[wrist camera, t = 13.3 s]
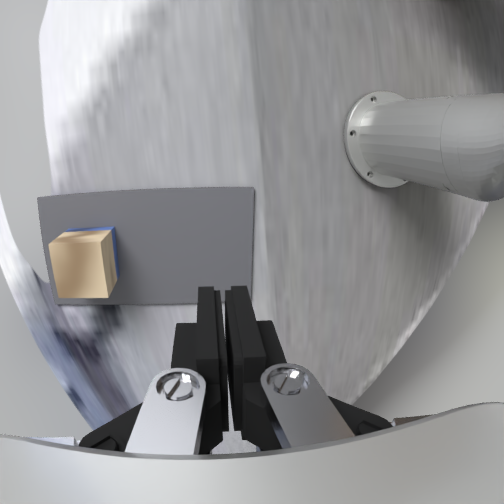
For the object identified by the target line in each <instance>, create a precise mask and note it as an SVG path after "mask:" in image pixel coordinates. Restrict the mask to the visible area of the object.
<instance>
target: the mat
mask: <svg viewBox="0 0 504 504" xmlns="http://www.w3.org/2000/svg"><path fill="white" fill-rule="evenodd" d="M37 200H38V210H39V219H40V227H41V234H42V241H43V247H44V253H45V259H46V264H47V270H48V275H49V279H50V285H51V289H52V294H53V298H54V302H55V304H69V305H134V304H180V303H198V287H203V286H214V290H220V294H221V302H225V290H231V286H246V285H247V288H248V292H249V295H250V299H251V276H252V243H253V209H254V187H200V188H164V189H140V190H122V191H105V192H91V193H78V194H66V195H56V196H46V197H38V198H37ZM113 226H115V237H116V247H117V256H118V265H119V273H120V276H119V278H118V280H117V282H116V284H115V286H114V288H113V290H112V292H111V294H110V296H109V298H59V297H58V293H57V288H56V283H55V279H54V274H53V268H52V263H51V257H50V251H49V245H48V244H50V243H51V242H52V241H53V240H55V239H56V238H57V237H58V236H60V235H61V234H62V233H64V232H65V231H66V230H68V229H74V228H93V227H113Z"/></svg>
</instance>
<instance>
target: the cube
mask: <svg viewBox="0 0 504 504" xmlns="http://www.w3.org/2000/svg"><path fill="white" fill-rule="evenodd" d="M48 245H49V251H50V257H51V263H52V268H53V274H54V279H55V283H56V288H57V293H58V297H59V298H109V296H110V294H111V292H112V290H113V288H114V286H115V284H116V282H117V280H118V278H119V276H120V273H119V265H118V256H117V247H116V237H115V226H113V227H93V228H74V229H68V230H66V231H65V232H64V233H62V234H61V235H60V236H58V237H57V238H56V239H55V240H53V241H52V242H51V243H50V244H48Z"/></svg>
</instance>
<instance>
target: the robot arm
mask: <svg viewBox="0 0 504 504" xmlns="http://www.w3.org/2000/svg"><path fill="white" fill-rule="evenodd" d="M350 132H351V136H350ZM344 143H345V148H346V152H347V156H348V158H349V160H350V163H351V164H352V166H353V167H354V169H355V170H356V172H357V173H358V174H359V175H360V176H361V177H362V178H363V179H365V180H366V181H368V182H369V183H371V184H374V185H376V186H380V187H384V188H394V187H399V186H401V185H404V184H405V183H407V182H408V181H411V182H415V183H418V184H422V185H426V186H430V187H433V188H437V189H441V190H444V191H448V192H451V193H455V194H458V195H461V196H465V197H468V198H471V199H474V200H478V201H484V202H490V201H496V200H499V199H502V198H503V197H504V93H493V94H475V95H458V96H443V97H430V98H420V99H410V100H407V99H405V98H404V97H402V96H400V95H399V94H396V93H393V92H389V91H378V92H373V93H369V94H367V95H365V96H363V97H362V98H360V99H359V100H358V101H357V102H356V103H355V104H354V105H353V107H352V108H351V110H350V112H349V114H348V116H347V119H346V123H345V128H344ZM367 173H368V175H367ZM225 343H226V344H225ZM227 373H228V377H227ZM228 382H229V391H230V400H231V408H232V416H233V425H234V431H241V435H242V440H247V441H249V442H251V443H252V444H254V445H256V452H249V453H235V454H213V455H212V449H213V448H214V447H216V446H217V445H218V444H219V443H220V442H222V441H223V433H222V432H225V431H229V417H228ZM0 504H504V403H500V402H490V403H479V404H472V405H467V406H463V407H459V408H455V409H451V410H448V411H445V412H442V413H438V414H434V415H425V416H416V417H406V418H394V419H393V421H392V422H388V421H387V420H386V419H384V418H382V417H380V416H378V415H375V414H372V413H370V412H367V411H364V410H362V409H359V408H357V407H354V406H352V405H349V404H347V403H344V402H342V401H339V400H337V399H335V398H332V397H330V396H327V394H326V393H325V391H324V390H323V389H322V387H321V386H320V384H319V383H318V381H317V380H316V378H315V377H314V375H313V374H312V373H311V372H310V371H309V370H308V369H306V368H304V367H302V366H299V365H296V364H290V363H287V362H286V359H285V356H284V353H283V350H282V347H281V345H280V342H279V339H278V336H277V333H276V330H275V328H274V325H273V322H272V321H271V320H268V321H256V318H255V314H254V310H253V307H252V303H251V299H250V295H249V292H248V288H247V285H246V286H231V290H225V334H224V325H223V314H222V304H221V294H220V290H214V286H203V287H198V305H197V323H177V324H176V330H175V338H174V345H173V354H172V362H171V369H167V370H165V371H163V372H160V373H159V374H158V375H156V376H155V377H154V378H153V380H152V381H151V383H150V386H149V388H148V391H147V394H146V396H145V399H144V401H143V402H142V403H141V404H139V405H137V406H136V407H134V408H132V409H130V410H129V411H127V412H125V413H124V414H122V415H120V416H119V417H117V418H115V419H113V420H112V421H110V422H108V423H106V424H105V425H103V426H101V427H99V428H97V429H96V430H94V431H92V432H90V433H89V434H87V435H86V436H85V437H83V439H82V440H75V438H74V437H20V436H12V435H2V434H0Z"/></svg>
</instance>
